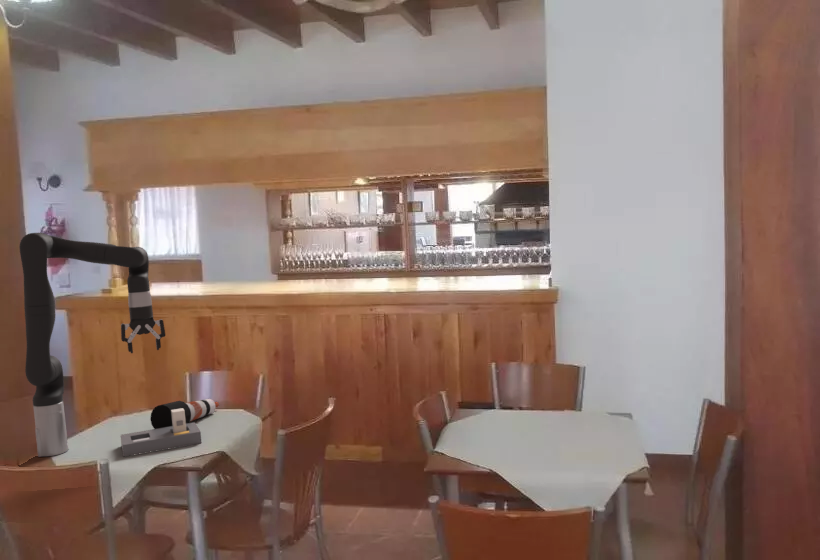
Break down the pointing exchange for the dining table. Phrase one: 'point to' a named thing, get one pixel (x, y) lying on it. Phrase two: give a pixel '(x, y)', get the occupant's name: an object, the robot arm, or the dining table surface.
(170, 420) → the black white red bottle
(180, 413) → the plug
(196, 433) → the panel
